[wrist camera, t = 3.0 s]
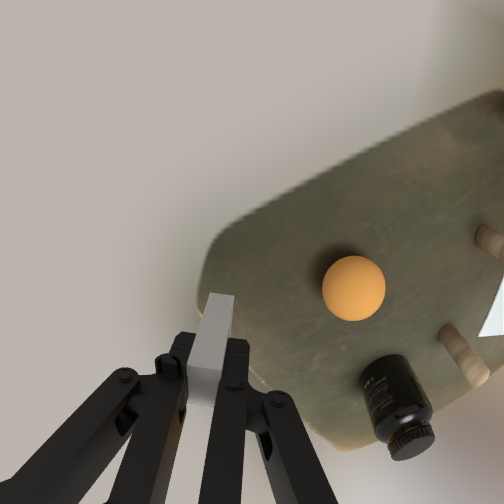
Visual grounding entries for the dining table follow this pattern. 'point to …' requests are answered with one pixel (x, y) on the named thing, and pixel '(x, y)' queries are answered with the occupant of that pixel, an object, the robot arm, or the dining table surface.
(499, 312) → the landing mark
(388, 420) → the supplement bottle
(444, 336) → the post
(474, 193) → the dining table surface
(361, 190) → the dining table surface
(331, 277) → the ball
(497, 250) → the post
